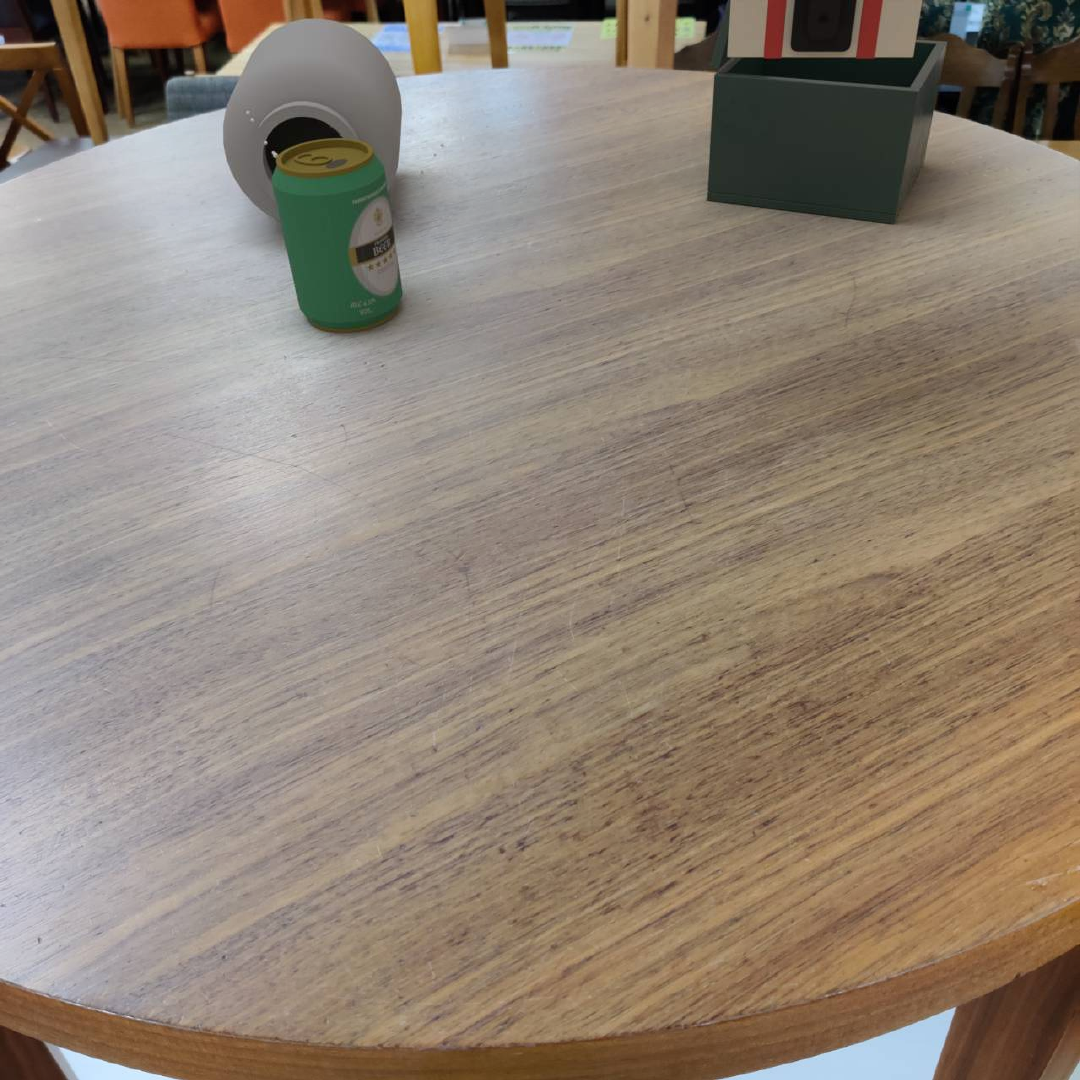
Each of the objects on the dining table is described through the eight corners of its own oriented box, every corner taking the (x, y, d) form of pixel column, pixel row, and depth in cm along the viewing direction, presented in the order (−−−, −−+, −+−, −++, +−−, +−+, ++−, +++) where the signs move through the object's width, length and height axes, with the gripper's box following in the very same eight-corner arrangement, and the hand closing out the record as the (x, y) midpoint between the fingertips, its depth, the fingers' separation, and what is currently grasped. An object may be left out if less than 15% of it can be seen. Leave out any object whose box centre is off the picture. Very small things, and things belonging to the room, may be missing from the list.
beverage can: (363, 343, 75) (334, 183, 67) (280, 322, 78) (243, 166, 70) (424, 297, 80) (403, 143, 72) (344, 279, 83) (316, 130, 76)
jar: (472, 118, 98) (426, 178, 77) (387, 236, 105) (323, 320, 83) (308, -23, 93) (210, -1, 71) (229, 110, 99) (119, 167, 78)
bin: (923, 164, 96) (947, 41, 89) (894, 224, 86) (918, 91, 79) (752, 146, 102) (762, 29, 95) (706, 200, 92) (713, 74, 85)
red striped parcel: (909, 37, 58) (922, -43, 56) (912, 58, 55) (926, -26, 53) (732, 38, 60) (737, -40, 58) (727, 58, 57) (731, -23, 55)
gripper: (975, -419, 39) (895, 85, 51) (943, -402, 51) (885, 0, 63) (775, -401, 40) (742, 84, 52) (790, -388, 53) (761, 2, 64)
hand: (820, 34), depth 57 cm, fingers closed on red striped parcel, 4 cm apart
